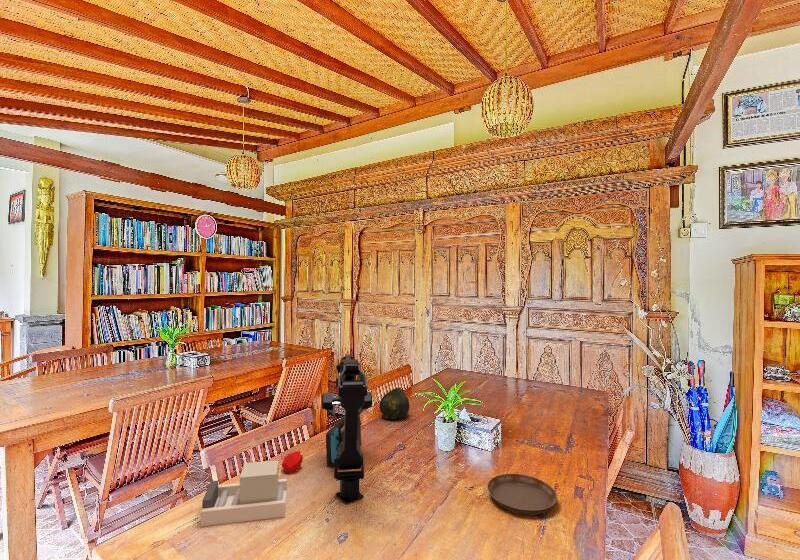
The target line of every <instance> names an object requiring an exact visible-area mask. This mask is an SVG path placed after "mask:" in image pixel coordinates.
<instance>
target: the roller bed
mask: <svg viewBox="0 0 800 560" xmlns="http://www.w3.org/2000/svg"><path fill="white" fill-rule="evenodd" d="M287 494H288V478H282V479H281V478H280V479H279V478H278V493H277V501H270V502H261V503H251V504H242V505H239V499H240V482H238V483H229V484H227V483H226V484H218V498H217V501H216V503H215V506H214V507H213V508H204V509H202V508H201V511H200V527H208V526H209V527H210V526H215V525H226V524H233V523H244V522H251V521H259V520H261V521H262V520H270V519H278V518H279V519H280V518H284V517H285V518H286V508H287V496H288V495H287Z"/></svg>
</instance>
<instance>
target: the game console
mask: <svg viewBox="0 0 800 560" xmlns="http://www.w3.org/2000/svg"><path fill="white" fill-rule="evenodd" d="M344 424H345V415H344V416H342V418H341V419H340V420H339V421H338V422H337V423H336V424H334V426H332V427H331V428H330V429H329V430H328V431H327V432H326V433H325V448H326V450H325V451H326V452H325V453H326V454H325V455H326V467H329V468H334V459H335V458H336V455H338V454H339V446H340V442H344ZM361 427H362V420H361V414H360V415H358V435H357V441H359V443H360V446H361V447H362V432H361V431H362V430H361V429H362V428H361Z"/></svg>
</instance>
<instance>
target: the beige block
mask: <svg viewBox="0 0 800 560" xmlns="http://www.w3.org/2000/svg"><path fill="white" fill-rule="evenodd" d="M279 462H280V461H279V460H269V461H255V462H246V463H245V462H244V464H243V467H242V469H241V471H240V472H241V473H240V475H239V483H240V499H239V505H242V504H251V503H261V502H270V501H277V493H278V479H279V466H280V465H279Z"/></svg>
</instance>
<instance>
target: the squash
mask: <svg viewBox="0 0 800 560" xmlns="http://www.w3.org/2000/svg"><path fill="white" fill-rule="evenodd" d="M379 411H380V413H381V414H382V415H383V417H384V419H386V420H392V421H394V420H396V419H401V418H403V417H406V416H408V414H409V412H410V400H409V398H408V397H407V395H406V393H405V392H404V390H403V388H401V387H395V388H393V389H391V390H390V391H388V392H386V393H385V394H384V395H383V396H382V397H381V399H380V400H379Z"/></svg>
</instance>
